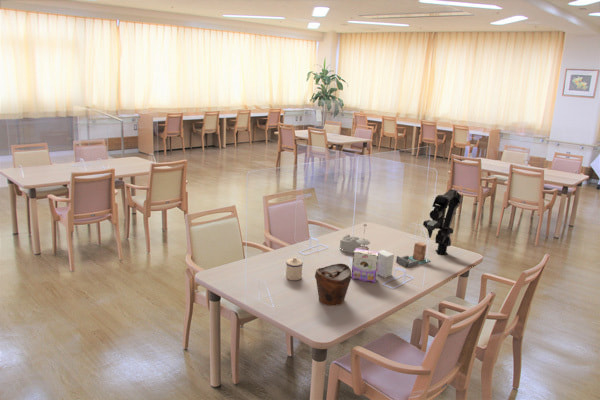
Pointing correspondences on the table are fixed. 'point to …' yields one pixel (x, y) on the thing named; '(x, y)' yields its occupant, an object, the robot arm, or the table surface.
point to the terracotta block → (419, 251)
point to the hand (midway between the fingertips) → (435, 240)
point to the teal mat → (419, 261)
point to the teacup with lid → (294, 269)
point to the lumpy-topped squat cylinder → (349, 243)
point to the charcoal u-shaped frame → (404, 261)
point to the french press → (363, 242)
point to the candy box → (365, 265)
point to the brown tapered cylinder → (333, 283)
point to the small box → (385, 263)
